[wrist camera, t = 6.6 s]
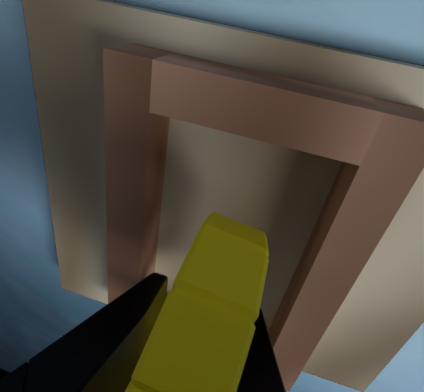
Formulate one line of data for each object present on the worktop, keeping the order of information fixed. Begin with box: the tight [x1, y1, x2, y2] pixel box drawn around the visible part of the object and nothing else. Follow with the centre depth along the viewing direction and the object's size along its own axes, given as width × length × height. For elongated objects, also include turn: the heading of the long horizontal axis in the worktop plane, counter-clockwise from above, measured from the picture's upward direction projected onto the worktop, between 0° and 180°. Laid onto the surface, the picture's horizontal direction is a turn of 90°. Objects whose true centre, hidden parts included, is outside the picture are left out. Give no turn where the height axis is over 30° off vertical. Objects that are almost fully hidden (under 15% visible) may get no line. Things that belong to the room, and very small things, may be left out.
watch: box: [125, 212, 269, 392], centre depth 7 cm, size 6×3×6 cm, turn 163°
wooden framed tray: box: [22, 0, 424, 392], centre depth 10 cm, size 14×12×2 cm
